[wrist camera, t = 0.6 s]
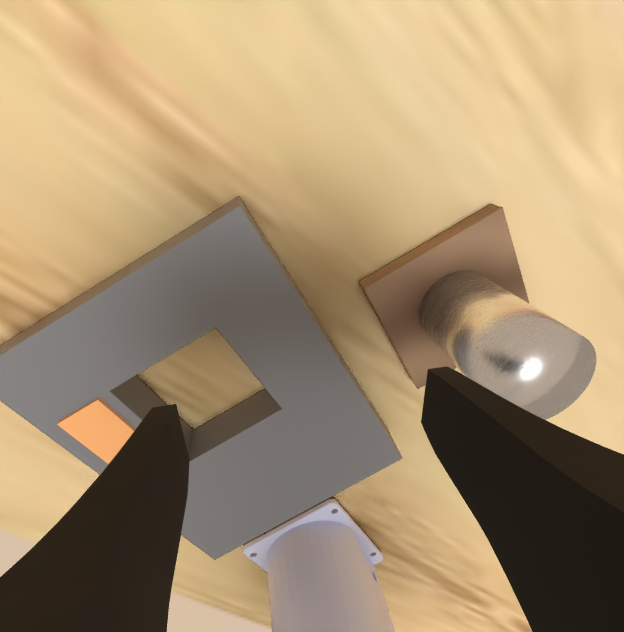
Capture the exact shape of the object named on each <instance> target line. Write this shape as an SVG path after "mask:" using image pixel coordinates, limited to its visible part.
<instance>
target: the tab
mask: <svg viewBox="0 0 624 632" xmlns="http://www.w3.org/2000/svg"><path fill="white" fill-rule="evenodd" d="M461 270H469V271H474V272H477V273H479V274H481V275H483V276H484V277H486V278H488V279H489V280H491V281H493V282H494V283H496V284H497V285H499V286H501V287H502V288H504V289H506V290H507V291H509V292H511V293H512V294H514V295H516V296H517V297H519V298H521V299H522V300H524V301H526V302H527V303H529V301H528V297H527V293H526V290H525V286H524V283H523V279H522V275H521V272H520V268H519V265H518V261H517V257H516V254H515V250H514V247H513V243H512V239H511V236H510V232H509V229H508V225H507V221H506V218H505V214H504V211H503V207H499V206H496V205H493V204H490V205H488V206H486V207H485V208H483V209H481V210H480V211H478V212H476V213H474V214H473V215H471V216H469V217H468V218H466V219H464V220H463V221H461V222H459V223H457V224H456V225H454V226H452V227H451V228H449V229H447V230H446V231H444V232H442V233H440V234H439V235H437V236H435V237H434V238H432V239H430V240H429V241H427V242H425V243H423V244H422V245H420V246H418V247H417V248H415V249H413V250H412V251H410V252H408V253H406V254H405V255H403V256H401V257H400V258H398V259H396V260H395V261H393V262H391V263H389V264H388V265H386V266H384V267H383V268H381V269H379V270H378V271H376V272H374V273H372V274H371V275H369V276H367V277H366V278H364V279H362V280H361V281H359V283H360V285H361V287H362V288H363V290H364V292H365V294H366V296H367V298H368V300H369V301H370V303H371V305H372V307H373V309H374V311H375V313H376V315H377V316H378V318H379V320H380V322H381V324H382V326H383V328H384V329H385V331H386V333H387V335H388V337H389V339H390V341H391V343H392V344H393V346H394V348H395V350H396V352H397V354H398V356H399V357H400V359H401V361H402V363H403V365H404V367H405V369H406V371H407V372H408V374H409V376H410V378H411V380H412V381H413V383H414V384H415V386H416V387H417V388H418V389H419V388H420V387H422V386H424V385H426V379H427V371H428V369H432V368H439V367H446V366H447V367H449V368H451V369H455V368H456V366H455V365H454V364H453V363H452V362H451V361H450V359H449V358H448V357H447V356H446V355H445V354H444V353H443V352H442V351H441V350H440V349H439V348H438V346H437V345H436V344H435V343H434V342H433V341H432V340H431V339H430V338H429V337H428V336H427V334H426V333H425V332H424V331H423V329H422V327H421V325H420V322H419V308H420V304H421V302H422V299H423V297H424V295H425V294H426V292H427V291H428V290H429V288H430V287H431V286H432V285H433V284H434V283H435V282H436V281H438V280H439V279H440V278H442V277H443V276H445V275H447V274H450V273H452V272H456V271H461Z"/></svg>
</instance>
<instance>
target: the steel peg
mask: <svg viewBox="0 0 624 632" xmlns="http://www.w3.org/2000/svg"><path fill="white" fill-rule="evenodd" d="M419 322H420V325H421V327H422V329H423V331H424V332H425V333H426V334H427V336H428V337H429V338H430V339H431V340H432V341H433V342H434V343H435V344H436V345H437V346H438V348H439V349H440V350H441V351H442V352H443V353H444V354H445V355H446V356H447V357H448V358H449V359H450V361H451V362H452V363H453V364H454V365H455V366H456V367H457V368H458V369H459V370H460V371H461V373H462V374H463V375H464V376H466V377H468V378H470V379H471V380H473V381H475V382H477V383H478V384H480V385H482V386H484V387H485V388H487V389H489V390H490V391H492V392H494V393H496V394H497V395H499V396H501V397H503V398H505V399H506V400H508V401H510V402H512V403H514V404H515V405H517V406H519V407H521V408H523V409H525V410H526V411H528V412H530V413H532V414H534V415H536V416H538V417H540V418H542V419H544V420H546V419H548V418H551V417H553V416H555V415H556V414H558V413H560V412H562V411H563V410H564V409H566V408H567V407H568V406H570V405H571V404H572V403H573V402H574V401H575V400H576V399H577V398H578V397H579V396H580V395H581V394H582V393H583V391H584V390H585V389H586V387H587V386H588V384H589V382H590V381H591V378H592V376H593V374H594V371H595V366H596V353H595V349H594V347H593V345H592V344H591V343H590V341H589V340H587V339H586V338H585V337H583V336H582V335H580V334H578V333H577V332H575V331H573V330H572V329H570V328H568V327H567V326H565V325H563V324H562V323H560V322H558V321H557V320H555V319H554V318H552V317H550V316H549V315H547V314H545V313H544V312H542V311H540V310H539V309H537V308H535V307H534V306H532V305H530V304H529V303H527V302H526V301H524V300H522V299H521V298H519V297H517V296H516V295H514V294H512V293H511V292H509V291H507V290H506V289H504V288H502V287H501V286H499V285H497V284H496V283H494V282H493V281H491V280H489V279H488V278H486V277H484V276H483V275H481V274H479V273H477V272H474V271H469V270H461V271H456V272H452V273H450V274H447V275H445V276H443V277H442V278H440V279H439V280H438V281H436V282H435V283H434V284H433V285H432V286H431V287H430V288H429V290H428V291H427V292H426V294H425V295H424V297H423V299H422V302H421V304H420V308H419Z"/></svg>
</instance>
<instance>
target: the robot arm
mask: <svg viewBox="0 0 624 632" xmlns="http://www.w3.org/2000/svg"><path fill="white" fill-rule="evenodd" d="M421 423H422V425H423V428H424V430H425V432H426V434H427V437H428V439H429V441H430V443H431V445H432V447H433V450H434V452H435V454H436V455H437V457H438V459H439V460H440V462H441V464H442V465H443V467H444V468H445V470H446V472H447V473H448V475H449V477H450V478H451V480H452V481H453V483H454V485H455V486H456V488H457V489H458V491H459V493H460V494H461V496H462V497H463V499H464V500H465V502H466V504H467V505H468V507H469V508H470V510H471V512H472V513H473V515H474V516H475V518H476V520H477V521H478V523H479V525H480V526H481V528H482V530H483V531H484V533H485V535H486V537H487V538H488V540H489V542H490V544H491V546H492V548H493V550H494V552H495V554H496V556H497V558H498V560H499V562H500V564H501V566H502V568H503V570H504V572H505V574H506V576H507V578H508V580H509V582H510V584H511V586H512V589H513V591H514V593H515V595H516V597H517V599H518V601H519V603H520V605H521V607H522V610H523V612H524V614H525V616H526V618H527V620H528V622H529V625H530V627H531V629H532V631H533V632H624V455H623V454H621V453H618V452H616V451H613V450H610V449H608V448H605V447H603V446H601V445H598V444H596V443H594V442H591V441H589V440H587V439H584V438H582V437H580V436H578V435H575V434H573V433H571V432H569V431H566V430H564V429H562V428H560V427H558V426H556V425H554V424H552V423H550V422H548V421H546V420H544V419H542V418H540V417H538V416H536V415H534V414H532V413H530V412H528V411H526V410H525V409H523V408H521V407H519V406H517V405H515V404H514V403H512V402H510V401H508V400H506V399H505V398H503V397H501V396H499V395H497V394H496V393H494V392H492V391H490V390H489V389H487V388H485V387H484V386H482V385H480V384H478V383H477V382H475V381H473V380H471V379H470V378H468V377H466V376H464V375H463V374H461V373H459V372H457V371H455V370H453V369H451V368H449V367H447V366H446V367H439V368H432V369H428V371H427V379H426V388H425V396H424V404H423V412H422V420H421ZM189 462H190V459H189V455H188V451H187V447H186V443H185V439H184V435H183V431H182V427H181V423H180V419H179V415H178V410H177V406H176V404H174V405H166V406H159V407H152V409H151V410H150V411H149V412H148V413H147V415H146V416H145V417H144V419H143V420H142V421H141V423H140V424H139V425H138V427H137V428H136V429H135V431H134V432H133V433H132V435H131V436H130V437H129V439H128V440H127V441H126V443H125V444H124V445H123V447H122V448H121V449H120V450H119V452H118V453H117V454H116V456H115V457H114V458H113V459H112V461H111V462H110V463H109V464H108V466H107V467H106V468H105V469H104V471H103V472H102V473H101V474H100V476H99V477H98V478H97V479H96V480H95V481H94V483H93V484H92V485H91V486H90V487H89V488H88V489H87V491H86V492H85V493H84V494H83V495H82V496H81V498H80V499H79V500H78V501H77V502H76V503H75V504H74V506H73V507H72V508H71V509H70V510H69V511H68V512H67V513H66V514H65V515H64V516H63V517H62V519H61V520H60V521H59V522H58V523H57V524H56V525H55V526H54V527H53V528H52V529H51V530H50V531H49V532H48V533H47V534H46V535H45V536H44V537H43V538H42V539H41V540H40V541H39V542H38V543H37V544H36V545H35V546H34V547H33V548H32V549H31V550H30V551H29V552H28V553H27V554H26V555H24V556H23V557H22V558H21V559H20V560H19V561H18V562H17V563H16V564H14V565H13V566H12V568H10V569H9V570H8V571H7V572H6V573H5V574H3V575H2V576H1V577H0V632H166V631H167V620H168V609H169V601H170V594H171V587H172V581H173V576H174V570H175V564H176V559H177V553H178V548H179V542H180V537H181V531H182V525H183V520H184V514H185V508H186V502H187V496H188V482H189ZM243 554H244V555H246V556H247V557H248V558H249V559H251V560H252V561H253V562H254V563H256V564H257V565H258V566H259V567H261V568H262V569H263V570H264V571H266V572H267V573H268V584H269V598H270V611H271V625H272V632H395V630H394V627H393V624H392V620H391V617H390V614H389V611H388V608H387V605H386V602H385V598H384V595H383V592H382V589H381V586H380V583H379V579H378V576H377V573H376V570H375V567H374V565H376V564H377V563H379V562H381V561H382V560H383V555H382V553H381V551H380V550H379V549H378V548H377V547H376V546H375V545H374V543H373V542H372V541H371V540H370V539H369V538H368V537H367V535H366V534H365V533H364V532H363V531H362V530H361V528H360V527H359V526H358V525H357V524H356V523H355V522H354V520H353V519H352V518H351V517H350V516H349V515H348V514H347V512H346V511H345V510H344V509H343V508H342V507H341V505H340V504H339V503H338V502H337V501H336V500H335V499H329V500H327V501H325V502H323V503H321V504H319V505H317V506H315V507H314V508H312V509H310V510H308V511H306V512H304V513H303V514H301V515H299V516H297V517H295V518H293V519H291V520H290V521H288V522H286V523H284V524H282V525H280V526H279V527H277V528H275V529H273V530H271V531H269V532H267V533H266V534H264V535H262V536H260V537H258V538H256V539H255V540H253V541H251V542H249V543H247V544H246V545H244V547H243Z"/></svg>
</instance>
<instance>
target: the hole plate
mask: <svg viewBox="0 0 624 632" xmlns="http://www.w3.org/2000/svg"><path fill="white" fill-rule="evenodd" d="M214 328H216V329H217V330H218V331H219V332H220V334H221V335H222V336H223V337H224V338H225V340H226V341H227V342H228V343H229V345H230V346H231V347H232V348H233V349H234V351H235V352H236V353H237V354H238V356H239V357H240V358H241V359H242V360H243V362H244V363H245V364H246V365H247V367H248V368H249V369H250V370H251V371H252V373H253V374H254V375H255V376H256V378H257V379H258V380H259V381H260V382H261V384H262V385H263V386H264V387H265V389H264V390H262V391H260V392H258V393H257V394H255V395H253V396H251V397H250V398H248V399H246V400H245V401H243V402H241V403H239V404H238V405H236V406H234V407H232V408H231V409H229V410H227V411H225V412H224V413H222V414H220V415H219V416H217V417H215V418H213V419H212V420H210V421H208V422H206V423H205V424H203V425H201V426H199V427H198V428H196V429H194V430H193V429H192V428H191V427H190V426H189V425H187V424H186V423H185V422H184V421H183V420H182V419H181V418H180V417H179V419H180V423H181V427H182V431H183V435H184V439H185V443H186V447H187V451H188V455H189V459H190V462H189V482H188V496H187V502H186V508H185V514H184V520H183V525H182V531H181V535H182V536H183V537H185V538H186V539H187V540H189V541H190V542H191V543H193V544H194V545H195V546H197V547H198V548H200V549H201V550H202V551H204V552H205V553H206V554H208V555H209V556H210V557H212V558H213V559H214V560H215V559H217V558H219V557H221V556H223V555H225V554H226V553H228V552H230V551H232V550H234V549H236V548H238V547H239V546H241V545H243V544H245V543H247V542H249V541H250V540H252V539H254V538H256V537H258V536H260V535H262V534H263V533H265V532H267V531H269V530H271V529H273V528H274V527H276V526H278V525H280V524H282V523H284V522H286V521H287V520H289V519H291V518H293V517H295V516H297V515H298V514H300V513H302V512H304V511H306V510H308V509H310V508H311V507H313V506H315V505H317V504H319V503H321V502H322V501H324V500H326V499H328V498H330V497H332V496H334V495H335V494H337V493H339V492H341V491H343V490H345V489H346V488H348V487H350V486H352V485H354V484H356V483H358V482H359V481H361V480H363V479H365V478H367V477H369V476H370V475H372V474H374V473H376V472H378V471H380V470H382V469H383V468H385V467H387V466H389V465H391V464H393V463H394V462H396V461H398V460H400V459H402V456H401V454H400V452H399V450H398V448H397V446H396V444H395V442H394V440H393V438H392V436H391V434H390V432H389V431H388V429H387V427H386V426H385V424H384V423H383V421H382V419H381V418H380V416H379V415H378V413H377V412H376V410H375V408H374V407H373V405H372V404H371V402H370V401H369V399H368V398H367V396H366V394H365V393H364V391H363V390H362V388H361V387H360V385H359V383H358V382H357V380H356V379H355V377H354V376H353V374H352V372H351V371H350V369H349V368H348V366H347V365H346V363H345V361H344V360H343V358H342V357H341V355H340V354H339V352H338V351H337V349H336V347H335V346H334V344H333V343H332V341H331V340H330V338H329V336H328V335H327V333H326V332H325V330H324V329H323V327H322V325H321V324H320V322H319V321H318V319H317V318H316V316H315V314H314V313H313V311H312V310H311V308H310V307H309V305H308V303H307V302H306V300H305V299H304V297H303V296H302V294H301V293H300V291H299V289H298V288H297V286H296V285H295V283H294V282H293V280H292V278H291V277H290V275H289V274H288V272H287V271H286V269H285V267H284V266H283V264H282V263H281V261H280V260H279V258H278V256H277V255H276V253H275V252H274V250H273V249H272V247H271V246H270V244H269V242H268V241H267V239H266V238H265V236H264V235H263V233H262V231H261V230H260V228H259V227H258V225H257V224H256V222H255V220H254V219H253V217H252V216H251V214H250V213H249V211H248V209H247V208H246V206H245V205H244V203H243V202H242V200H241V198H240V197H239V196H238V197H237V198H235V199H233V200H232V201H230V202H229V203H227V204H225V205H224V206H222V207H221V208H219V209H217V210H216V211H214V212H213V213H211V214H209V215H208V216H206V217H205V218H203V219H201V220H200V221H198V222H197V223H195V224H193V225H192V226H190V227H189V228H187V229H186V230H184V231H182V232H181V233H179V234H178V235H176V236H174V237H173V238H171V239H170V240H168V241H166V242H165V243H163V244H162V245H160V246H158V247H157V248H155V249H154V250H152V251H150V252H149V253H147V254H146V255H144V256H142V257H141V258H139V259H138V260H136V261H134V262H133V263H131V264H130V265H128V266H126V267H125V268H123V269H122V270H120V271H118V272H117V273H115V274H114V275H112V276H110V277H109V278H107V279H106V280H104V281H102V282H101V283H99V284H98V285H96V286H94V287H93V288H91V289H90V290H88V291H86V292H85V293H83V294H82V295H80V296H78V297H77V298H75V299H74V300H72V301H70V302H69V303H67V304H66V305H64V306H63V307H61V308H59V309H58V310H56V311H55V312H53V313H51V314H50V315H48V316H47V317H45V318H43V319H42V320H40V321H39V322H37V323H35V324H34V325H32V326H31V327H29V328H27V329H26V330H24V331H23V332H21V333H19V334H18V335H16V336H15V337H13V338H11V339H10V340H8V341H7V342H5V343H3V344H2V345H0V401H1V402H3V403H4V404H5V405H7V406H8V407H9V408H11V409H12V410H13V411H15V412H16V413H17V414H19V415H20V416H21V417H23V418H24V419H25V420H27V421H28V422H29V423H31V424H32V425H34V426H35V427H36V428H38V429H39V430H40V431H42V432H43V433H44V434H46V435H47V436H48V437H50V438H51V439H52V440H54V441H55V442H56V443H58V444H59V445H61V446H62V447H63V448H65V449H66V450H67V451H69V452H70V453H71V454H73V455H74V456H75V457H77V458H78V459H79V460H81V461H82V462H83V463H85V464H86V465H88V466H89V467H90V468H92V469H93V470H94V471H96V472H97V473H98V474H101V473H102V472H103V471H104V469H105V468H106V467H107V466H108V464H109V463H110V462H111V461H112V459H113V458H114V457H115V456H116V454H117V453H118V452H119V450H120V449H121V448H122V447H123V445H124V444H125V443H126V441H127V440H128V439H129V437H130V436H131V435H132V433H133V432H134V431H135V429H136V428H137V427H138V425H139V424H140V423H141V421H142V420H143V419H144V417H145V416H146V415H147V413H148V412H149V411H150V410H151V409H152V407H159V406H166V405H167V404H166V403H165V402H164V401H163V400H162V399H161V398H160V397H158V396H157V395H156V394H155V393H154V392H153V391H152V390H151V389H150V388H149V387H148V386H147V385H146V384H145V383H144V382H143V381H142V380H141V379H140V378H139V377H138V376H137V374H139V373H140V372H142V371H144V370H145V369H147V368H149V367H150V366H152V365H154V364H155V363H157V362H159V361H160V360H162V359H164V358H165V357H167V356H169V355H170V354H172V353H174V352H176V351H177V350H179V349H181V348H182V347H184V346H186V345H187V344H189V343H191V342H192V341H194V340H196V339H197V338H199V337H201V336H202V335H204V334H206V333H207V332H209V331H211V330H212V329H214Z"/></svg>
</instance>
